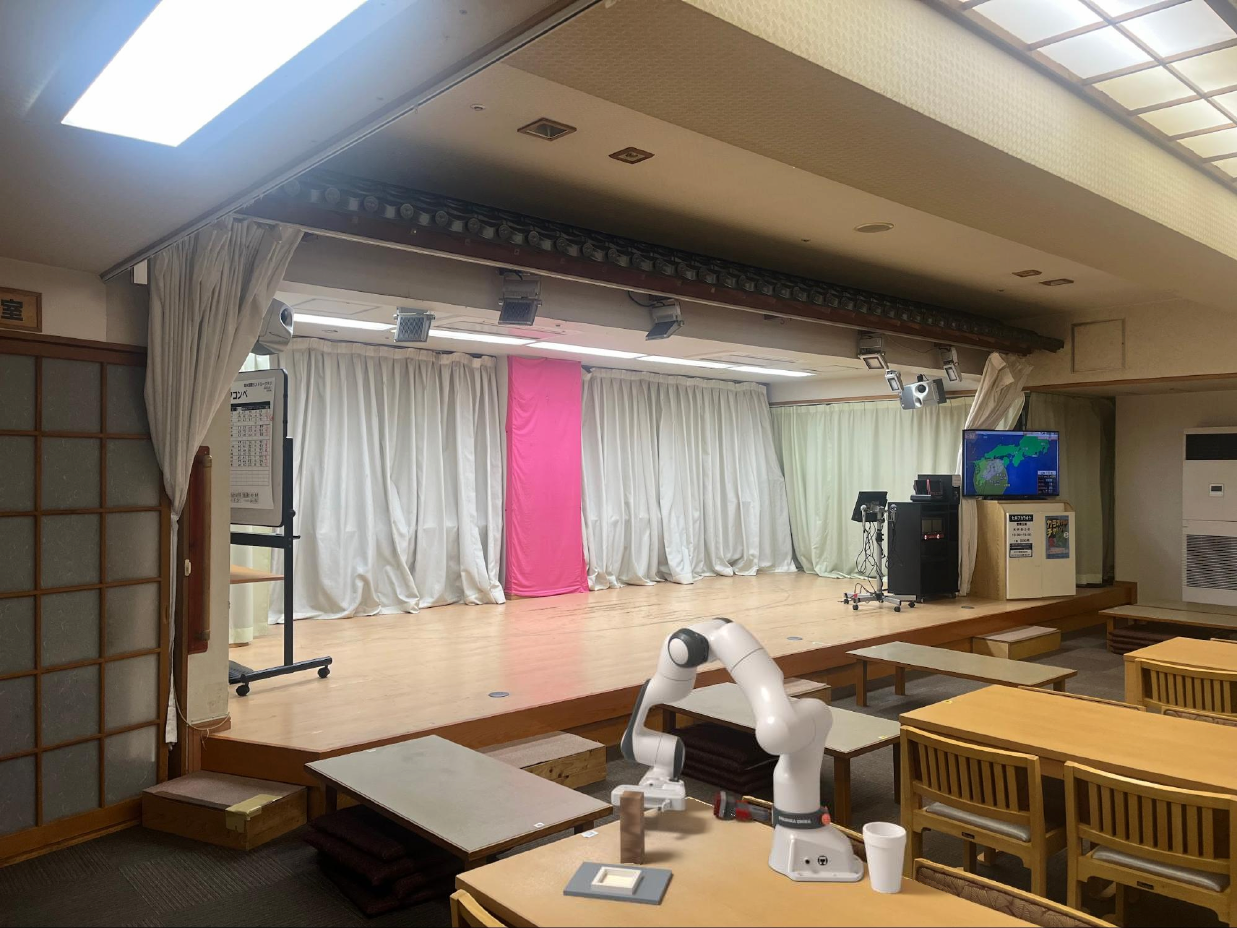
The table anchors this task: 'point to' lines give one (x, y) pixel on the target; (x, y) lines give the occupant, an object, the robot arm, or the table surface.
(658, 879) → the board
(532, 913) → the table surface
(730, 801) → the toy
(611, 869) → the socket
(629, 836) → the pillar
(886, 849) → the foam cup
